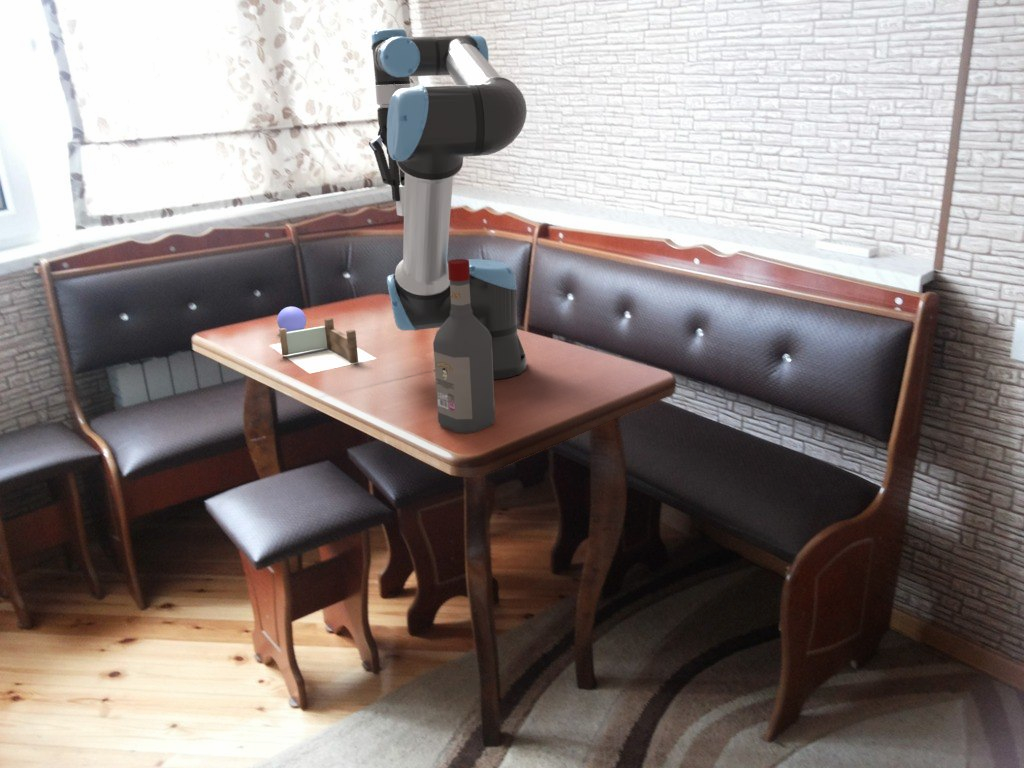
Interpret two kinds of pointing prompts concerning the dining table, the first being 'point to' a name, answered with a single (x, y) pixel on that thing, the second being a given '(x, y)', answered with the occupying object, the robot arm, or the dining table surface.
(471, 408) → the liquor
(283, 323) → the sphere
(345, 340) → the fixed fence section
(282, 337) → the folding fence panel
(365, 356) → the card
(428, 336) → the dining table surface
